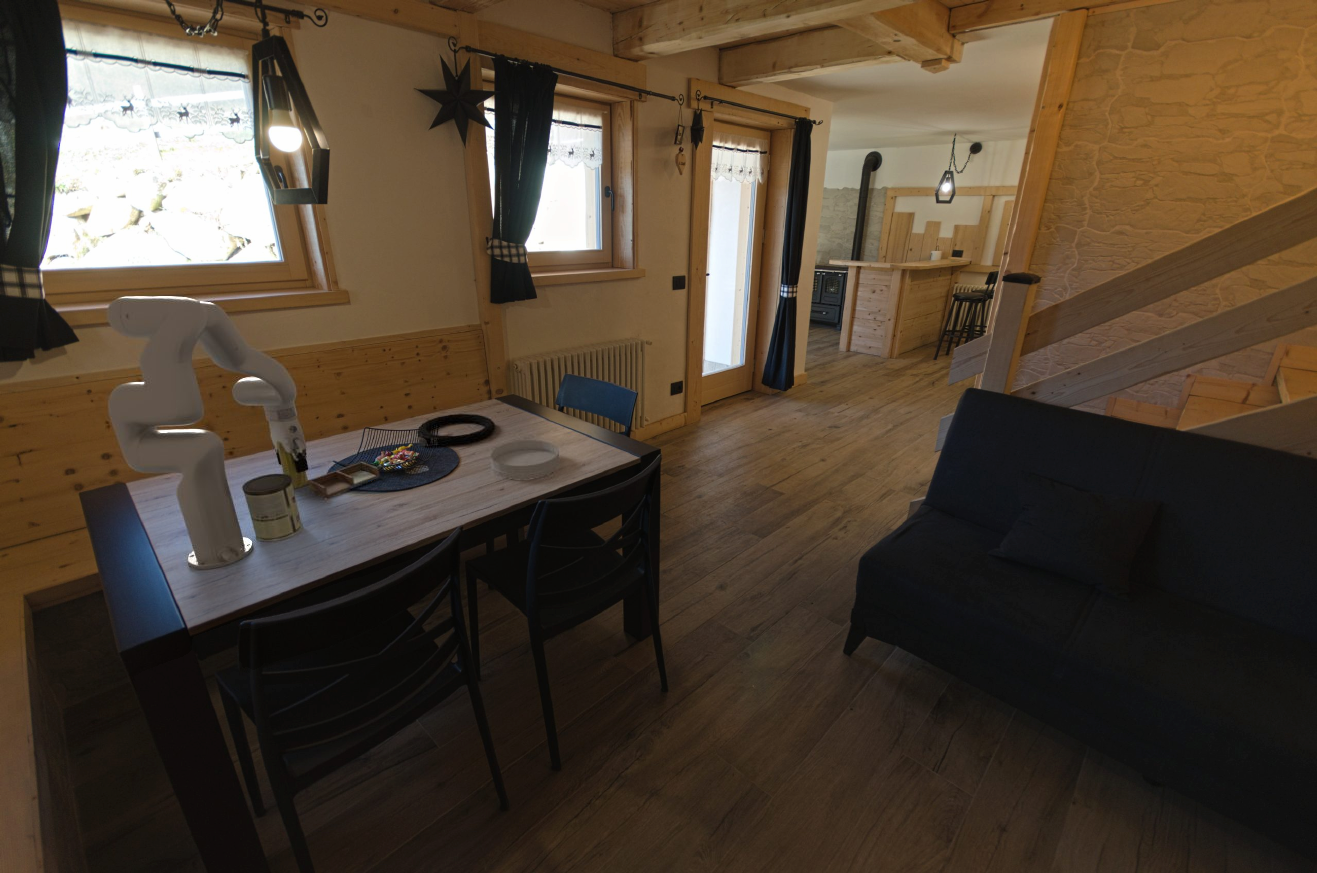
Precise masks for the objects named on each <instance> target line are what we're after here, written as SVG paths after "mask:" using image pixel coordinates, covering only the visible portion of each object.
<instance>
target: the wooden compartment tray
mask: <svg viewBox="0 0 1317 873" xmlns="http://www.w3.org/2000/svg"><path fill="white" fill-rule="evenodd" d="M361 468H364V469H365V470H366V471H367V472H366V471H360V469H361ZM379 476H380V471H379V467H377V466H374V465H372V464H369V463H366V462H364V461H360V462H357V463H354V464H351V465H348V466H345V467H342V468H340V469H337V470H334V471H331V472H329V473H325V474H322V475H319V476H317V477H314V478H311V479H309V480H308V484H307V485H308V488H309V492H311V493H312V492H313V493H312V494H314V493H315V494H314V495H317V496H319V495H320V496H319V497H321V498H323V497H324V498H323V499H325V498H327V499H330V498H332V496H333V497H335V496H338V495H340V494H343V493H345V492H344V491H346V490H347V489H348V488H349V487H351V486H353V485H356V484H360V483H362V482H365V481H367V480H370V479H374V478H377V477H379ZM346 492H347V491H346ZM339 493H340V494H339ZM337 494H338V495H337ZM334 495H335V496H334ZM329 497H330V498H329Z"/></svg>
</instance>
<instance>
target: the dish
mask: <svg viewBox="0 0 1317 873" xmlns="http://www.w3.org/2000/svg"><path fill="white" fill-rule="evenodd" d="M490 459H491V461H490V466H491V472H492V471H493V472H494V473H493V472H492V473H493V474H494V475H495V474H497V475H498V476H497V475H496V476H497V477H499V476H501V477H500V478H502V477H505V478H511V479H530V478H537V477H541V478H543V477H542V476H545V475H547V476H549V475H548V474H550V473H552V472H553V473H555V472H556V471H557V470H558V469H559V468H560V466H561V458H560V450H559V447H557V445H555V444H554V443H552V442H547V441H544V440H538V439H537V440H536V439H535V440H533V439H530V440H529V439H526V440H525V439H524V440H515V441H512V442H507V443H504V444H501V445H499V446H497V447H495V448H494V449H493V450H492V452H491V453H490ZM559 465H560V466H559ZM558 467H559V468H558ZM557 468H558V469H557ZM556 469H557V470H556ZM555 470H556V471H555ZM554 471H555V472H554ZM553 473H552V474H553ZM550 475H551V474H550ZM545 477H546V476H545ZM505 478H504V479H505ZM511 479H510V480H511ZM537 479H538V478H537ZM530 480H531V479H530Z"/></svg>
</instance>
